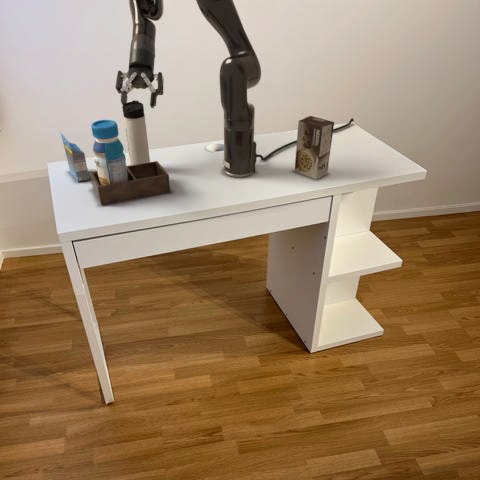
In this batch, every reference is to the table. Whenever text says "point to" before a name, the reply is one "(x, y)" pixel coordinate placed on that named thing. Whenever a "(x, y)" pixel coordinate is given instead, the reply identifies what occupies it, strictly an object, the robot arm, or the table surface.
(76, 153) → the blue hanging retail box
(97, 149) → the beverage bottle
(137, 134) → the travel mug
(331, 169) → the table surface
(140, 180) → the caddy
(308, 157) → the coffee box
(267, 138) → the table surface
